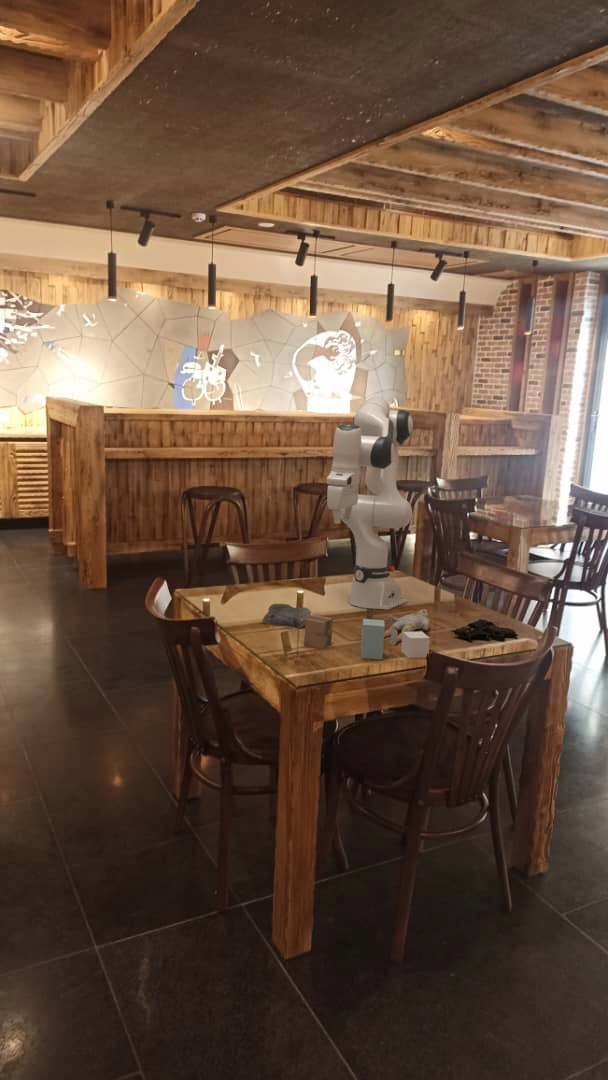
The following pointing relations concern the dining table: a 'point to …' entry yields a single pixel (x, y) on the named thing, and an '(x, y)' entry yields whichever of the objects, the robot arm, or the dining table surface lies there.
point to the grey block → (415, 644)
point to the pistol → (485, 631)
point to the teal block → (372, 638)
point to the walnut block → (318, 631)
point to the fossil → (286, 615)
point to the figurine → (407, 625)
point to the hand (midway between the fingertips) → (342, 521)
